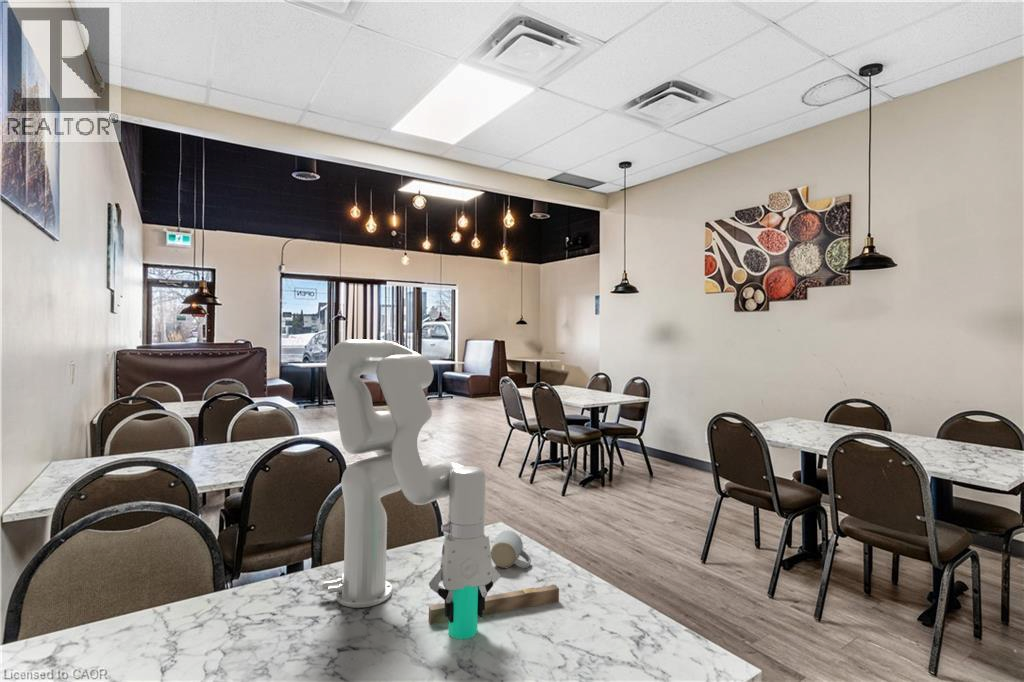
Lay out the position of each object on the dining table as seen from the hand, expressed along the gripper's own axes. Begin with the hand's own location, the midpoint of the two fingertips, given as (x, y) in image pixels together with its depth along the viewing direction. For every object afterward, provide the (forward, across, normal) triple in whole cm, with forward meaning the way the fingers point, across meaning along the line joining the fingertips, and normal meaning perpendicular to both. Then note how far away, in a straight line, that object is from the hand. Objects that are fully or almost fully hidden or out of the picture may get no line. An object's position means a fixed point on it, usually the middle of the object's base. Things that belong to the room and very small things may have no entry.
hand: (464, 615), depth 103 cm
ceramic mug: (+3, +21, +28) cm, 35 cm away
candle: (+3, 0, 0) cm, 3 cm away
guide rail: (+3, +9, +6) cm, 11 cm away
